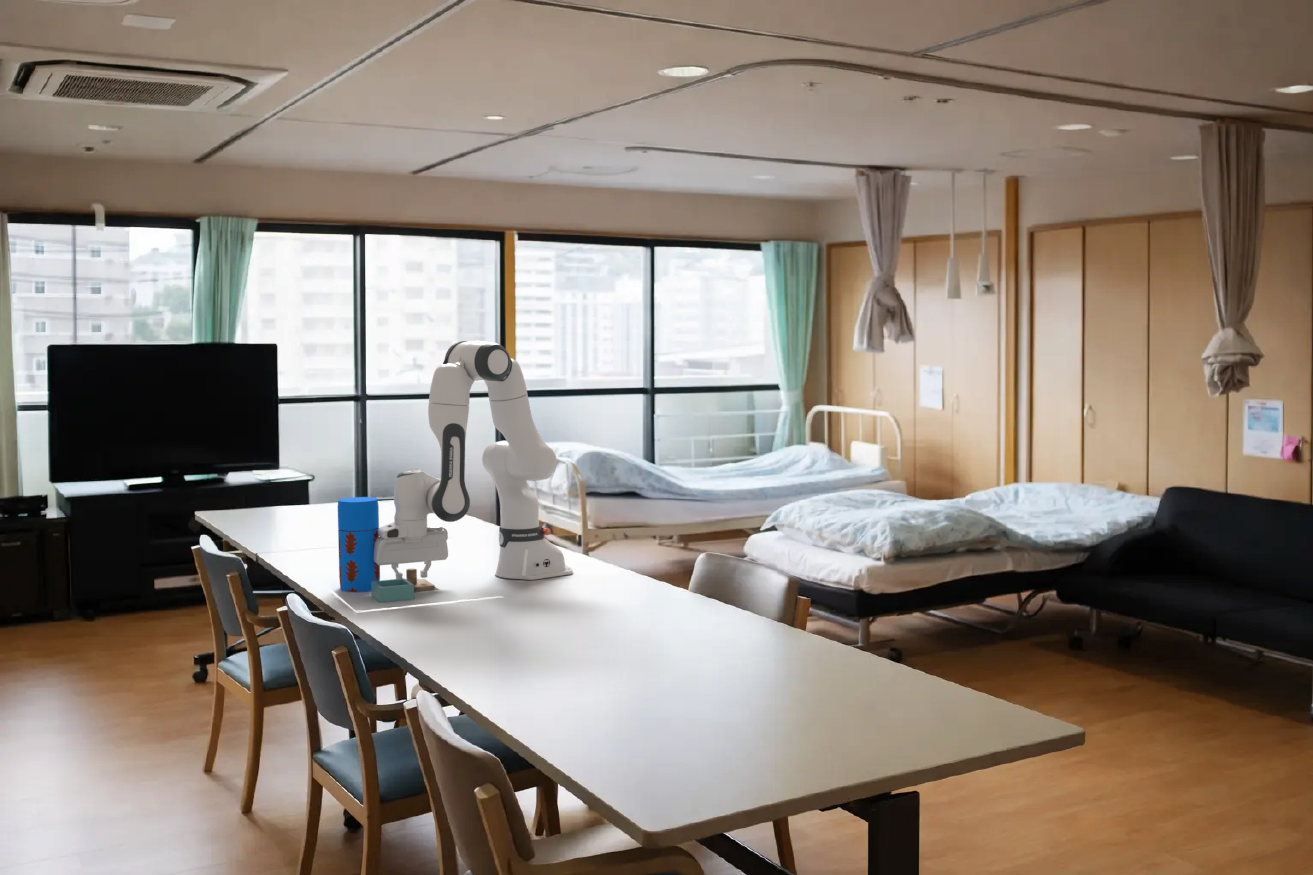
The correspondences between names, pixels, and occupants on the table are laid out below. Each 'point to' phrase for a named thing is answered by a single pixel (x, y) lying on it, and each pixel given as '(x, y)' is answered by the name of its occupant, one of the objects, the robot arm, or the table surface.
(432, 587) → the lid
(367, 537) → the thermos
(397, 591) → the teal open box
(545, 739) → the table surface
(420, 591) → the mat
